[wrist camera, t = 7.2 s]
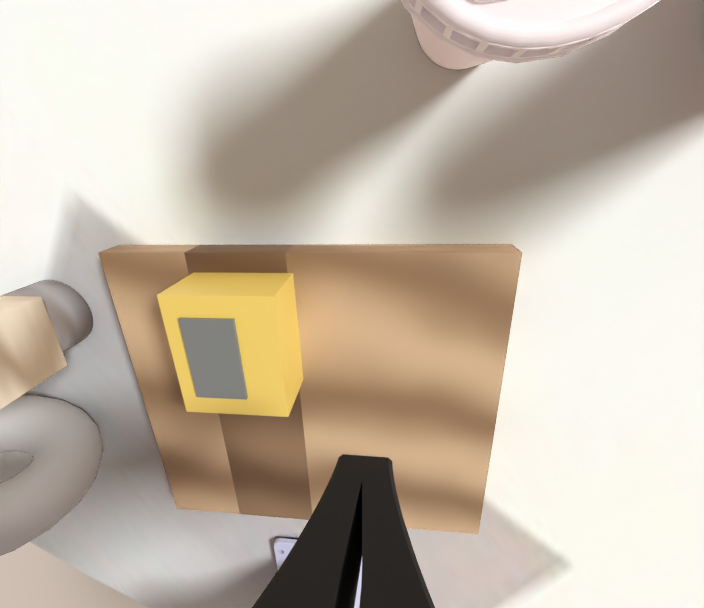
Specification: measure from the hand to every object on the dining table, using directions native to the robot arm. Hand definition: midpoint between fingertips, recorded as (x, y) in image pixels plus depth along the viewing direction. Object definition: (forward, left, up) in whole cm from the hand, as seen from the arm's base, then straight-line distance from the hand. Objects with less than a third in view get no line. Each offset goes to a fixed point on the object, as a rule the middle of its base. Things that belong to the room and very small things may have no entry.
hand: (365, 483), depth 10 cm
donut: (-7, +21, -11) cm, 25 cm away
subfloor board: (-5, +4, -10) cm, 12 cm away
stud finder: (0, +7, -9) cm, 11 cm away
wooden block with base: (0, +19, -10) cm, 21 cm away
